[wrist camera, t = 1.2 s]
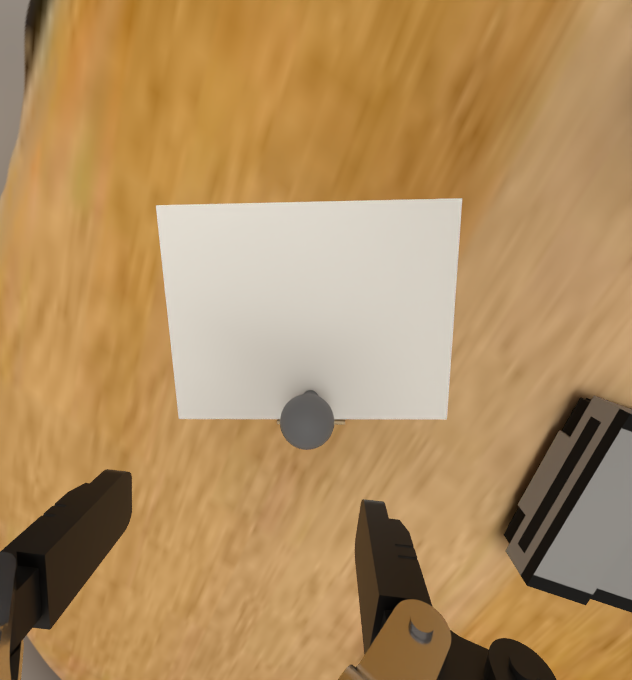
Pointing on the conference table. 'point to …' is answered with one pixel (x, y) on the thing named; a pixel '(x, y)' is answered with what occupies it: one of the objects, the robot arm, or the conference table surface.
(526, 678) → the robot arm
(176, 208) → the flap
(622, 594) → the game console
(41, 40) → the conference table surface
